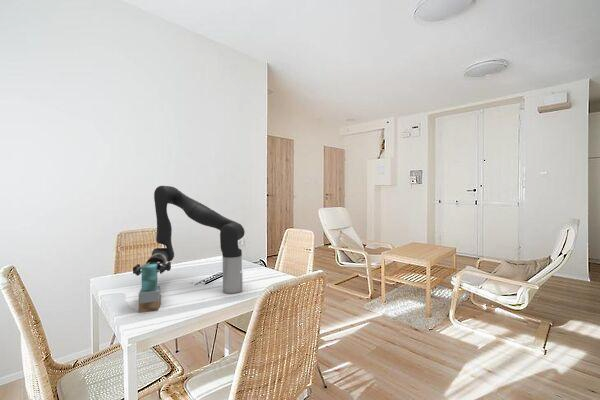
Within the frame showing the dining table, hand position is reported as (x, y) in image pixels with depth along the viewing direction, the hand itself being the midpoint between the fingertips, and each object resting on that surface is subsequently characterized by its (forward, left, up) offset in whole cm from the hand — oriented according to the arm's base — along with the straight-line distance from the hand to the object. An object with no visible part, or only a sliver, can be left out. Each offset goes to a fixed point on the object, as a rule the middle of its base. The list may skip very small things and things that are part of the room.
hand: (149, 272), depth 113 cm
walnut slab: (0, -2, -16) cm, 16 cm away
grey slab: (0, -2, -12) cm, 12 cm away
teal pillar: (0, -2, -8) cm, 8 cm away
